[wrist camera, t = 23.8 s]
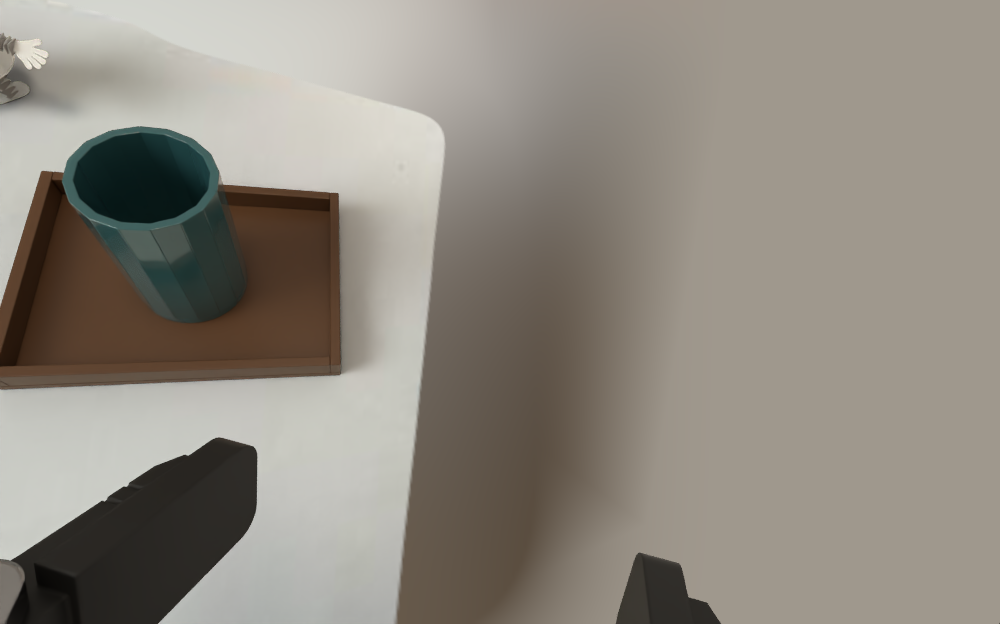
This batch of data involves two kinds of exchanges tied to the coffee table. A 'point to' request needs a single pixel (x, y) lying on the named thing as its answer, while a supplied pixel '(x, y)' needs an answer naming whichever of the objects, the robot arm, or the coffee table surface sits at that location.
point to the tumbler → (161, 220)
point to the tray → (158, 341)
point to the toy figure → (3, 61)
